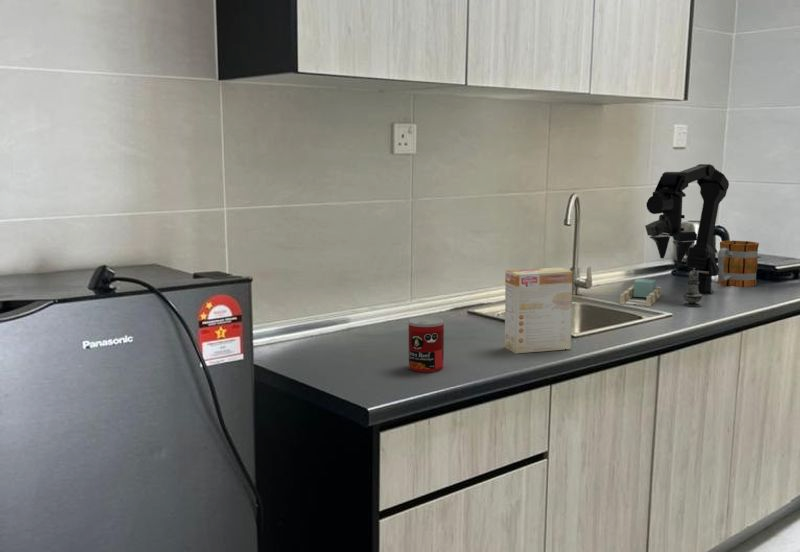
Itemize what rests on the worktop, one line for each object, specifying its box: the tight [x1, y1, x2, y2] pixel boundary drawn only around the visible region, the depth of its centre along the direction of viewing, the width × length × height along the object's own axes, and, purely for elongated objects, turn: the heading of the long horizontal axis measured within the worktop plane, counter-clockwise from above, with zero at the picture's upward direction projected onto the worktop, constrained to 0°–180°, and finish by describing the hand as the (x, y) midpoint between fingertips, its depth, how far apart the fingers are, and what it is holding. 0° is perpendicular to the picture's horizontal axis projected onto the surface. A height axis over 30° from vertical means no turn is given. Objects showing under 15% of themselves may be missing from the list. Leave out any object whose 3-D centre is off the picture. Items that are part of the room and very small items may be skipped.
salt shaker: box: [682, 268, 704, 308], centre depth 244 cm, size 6×6×12 cm
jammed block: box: [632, 278, 657, 298], centre depth 259 cm, size 6×6×5 cm
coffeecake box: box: [504, 267, 573, 355], centre depth 192 cm, size 15×7×20 cm, turn 105°
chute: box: [619, 284, 662, 308], centre depth 254 cm, size 20×9×3 cm, turn 153°
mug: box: [717, 240, 760, 288], centre depth 280 cm, size 20×14×15 cm
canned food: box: [408, 316, 445, 373], centre depth 176 cm, size 8×8×11 cm
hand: (670, 260), depth 252 cm, fingers open, 9 cm apart
